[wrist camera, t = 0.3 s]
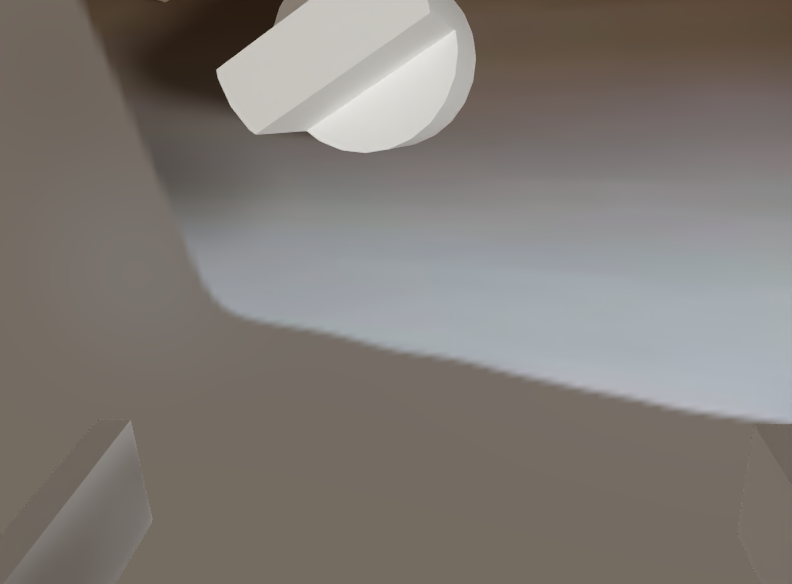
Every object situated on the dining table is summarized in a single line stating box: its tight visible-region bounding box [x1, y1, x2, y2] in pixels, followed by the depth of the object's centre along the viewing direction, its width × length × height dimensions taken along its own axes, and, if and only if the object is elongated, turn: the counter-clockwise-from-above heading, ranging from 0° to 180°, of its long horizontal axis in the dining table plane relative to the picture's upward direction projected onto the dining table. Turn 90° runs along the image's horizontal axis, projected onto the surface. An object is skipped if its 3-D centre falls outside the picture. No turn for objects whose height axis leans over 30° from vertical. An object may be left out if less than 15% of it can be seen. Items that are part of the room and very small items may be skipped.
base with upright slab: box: [216, 0, 476, 153], centre depth 35 cm, size 9×9×12 cm
